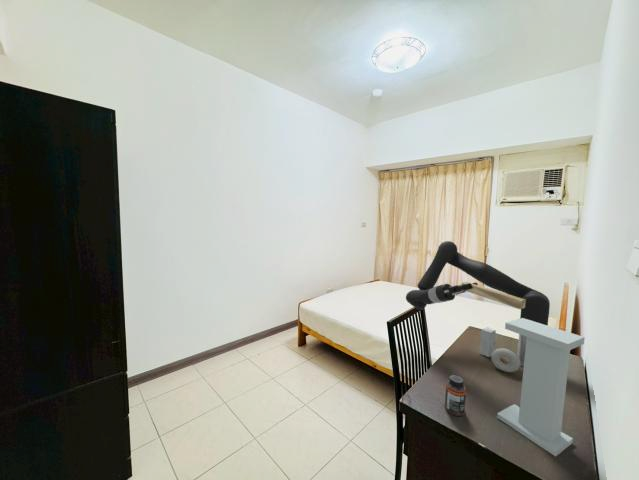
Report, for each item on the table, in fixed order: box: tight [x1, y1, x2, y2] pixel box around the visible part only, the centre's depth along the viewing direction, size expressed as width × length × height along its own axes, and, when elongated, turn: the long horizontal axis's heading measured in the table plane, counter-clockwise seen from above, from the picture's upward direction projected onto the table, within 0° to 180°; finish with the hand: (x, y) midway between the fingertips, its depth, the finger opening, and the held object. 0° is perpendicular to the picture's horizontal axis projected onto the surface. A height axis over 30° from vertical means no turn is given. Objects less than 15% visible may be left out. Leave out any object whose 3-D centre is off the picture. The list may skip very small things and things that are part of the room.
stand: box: [496, 318, 585, 457], centre depth 77 cm, size 10×15×32 cm, turn 26°
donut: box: [490, 347, 521, 373], centre depth 108 cm, size 10×3×10 cm, turn 51°
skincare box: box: [479, 326, 497, 358], centre depth 122 cm, size 6×4×12 cm
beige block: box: [461, 281, 526, 310], centre depth 97 cm, size 3×22×3 cm, turn 25°
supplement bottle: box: [444, 374, 467, 417], centre depth 85 cm, size 6×6×11 cm
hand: (474, 285), depth 103 cm, fingers closed on beige block, 3 cm apart
